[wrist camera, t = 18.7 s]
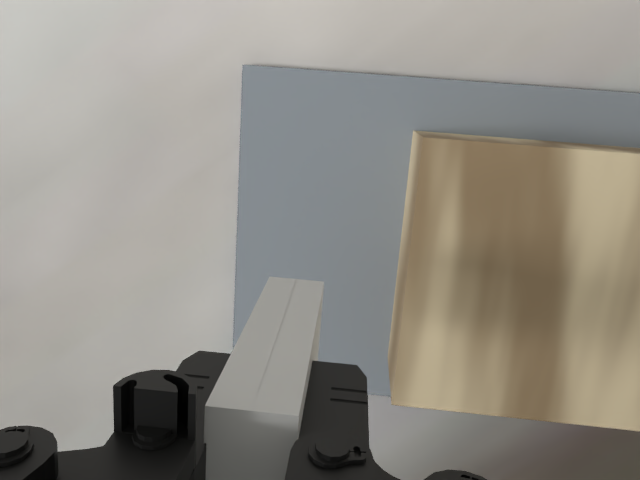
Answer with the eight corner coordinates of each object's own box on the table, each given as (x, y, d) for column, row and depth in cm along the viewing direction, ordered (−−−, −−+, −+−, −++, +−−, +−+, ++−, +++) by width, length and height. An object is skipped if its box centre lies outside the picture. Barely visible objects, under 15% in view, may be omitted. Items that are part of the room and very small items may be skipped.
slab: (391, 404, 21) (720, 439, 20) (422, 137, 18) (800, 167, 18) (387, 356, 25) (663, 384, 24) (413, 130, 22) (722, 154, 22)
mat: (234, 373, 26) (231, 379, 26) (245, 65, 23) (242, 64, 22) (669, 418, 25) (676, 426, 24) (752, 102, 22) (763, 101, 21)
